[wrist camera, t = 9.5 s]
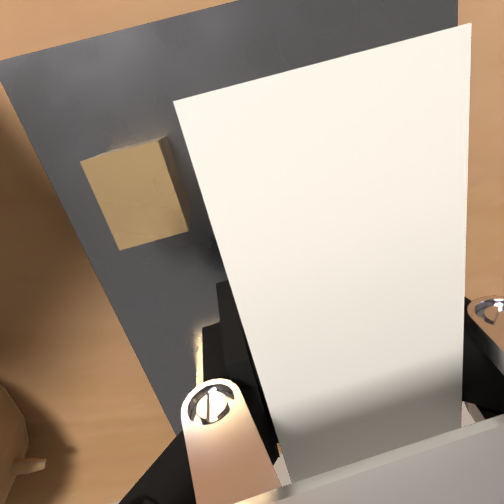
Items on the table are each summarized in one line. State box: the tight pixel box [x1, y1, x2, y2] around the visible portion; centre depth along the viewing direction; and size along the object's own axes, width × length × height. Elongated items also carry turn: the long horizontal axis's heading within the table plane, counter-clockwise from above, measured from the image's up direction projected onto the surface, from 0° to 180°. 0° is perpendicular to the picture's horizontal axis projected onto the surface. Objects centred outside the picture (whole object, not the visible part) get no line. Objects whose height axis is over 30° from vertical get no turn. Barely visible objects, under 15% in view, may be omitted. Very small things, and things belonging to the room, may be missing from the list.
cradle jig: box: [0, 0, 458, 436], centre depth 12 cm, size 14×18×4 cm
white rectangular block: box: [173, 23, 471, 483], centre depth 9 cm, size 4×13×5 cm, turn 13°
